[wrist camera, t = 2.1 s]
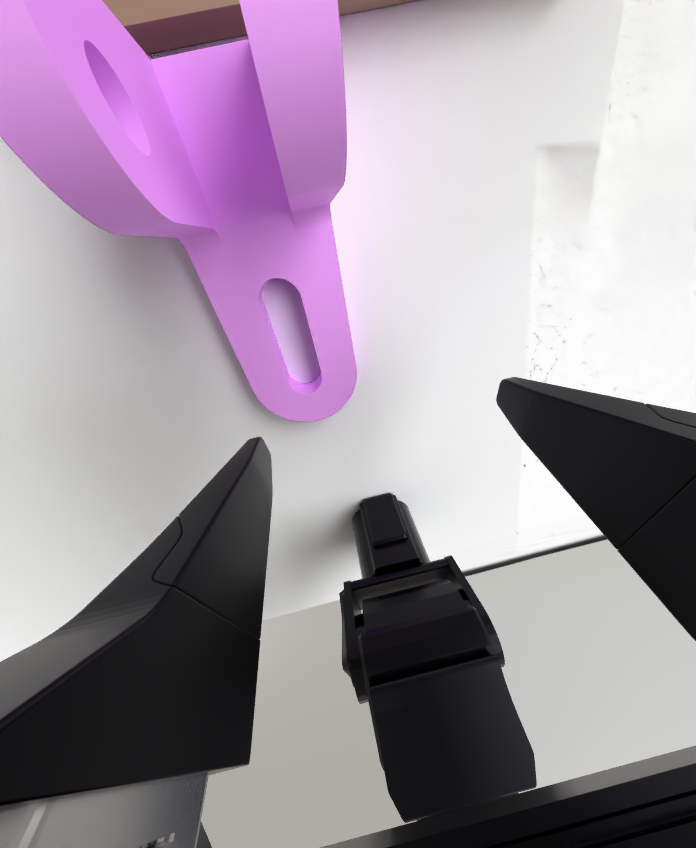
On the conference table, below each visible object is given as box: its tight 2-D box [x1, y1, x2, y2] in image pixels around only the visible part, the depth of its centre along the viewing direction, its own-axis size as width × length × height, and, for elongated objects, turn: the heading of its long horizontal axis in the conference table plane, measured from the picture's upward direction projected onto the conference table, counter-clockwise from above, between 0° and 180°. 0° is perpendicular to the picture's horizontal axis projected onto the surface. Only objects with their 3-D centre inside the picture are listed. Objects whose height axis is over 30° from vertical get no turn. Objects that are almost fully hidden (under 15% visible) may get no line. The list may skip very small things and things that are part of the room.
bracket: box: [0, 0, 357, 422], centre depth 9 cm, size 13×6×7 cm, turn 10°
